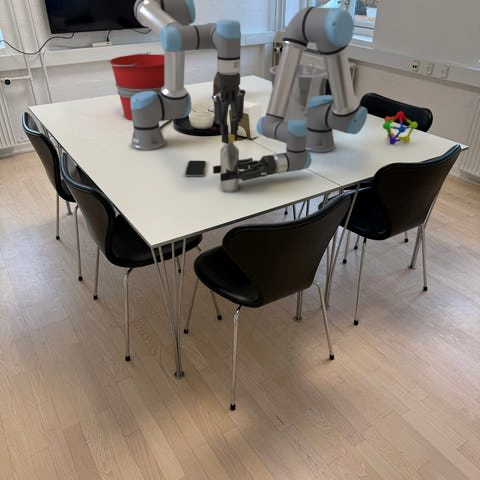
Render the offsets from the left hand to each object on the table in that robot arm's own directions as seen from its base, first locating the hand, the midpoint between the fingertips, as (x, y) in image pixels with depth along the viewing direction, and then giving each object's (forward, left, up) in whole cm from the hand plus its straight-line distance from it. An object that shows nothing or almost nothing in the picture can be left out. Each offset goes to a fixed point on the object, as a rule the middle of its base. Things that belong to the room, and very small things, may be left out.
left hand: (229, 141), depth 158 cm
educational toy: (-60, +71, -18) cm, 95 cm away
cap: (0, 0, +2) cm, 2 cm away
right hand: (+2, -4, -12) cm, 13 cm away
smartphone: (-16, -16, -18) cm, 29 cm away
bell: (-133, -21, -18) cm, 136 cm away
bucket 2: (-81, +24, -18) cm, 86 cm away
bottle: (0, 0, -18) cm, 18 cm away
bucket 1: (-89, -59, -18) cm, 109 cm away
